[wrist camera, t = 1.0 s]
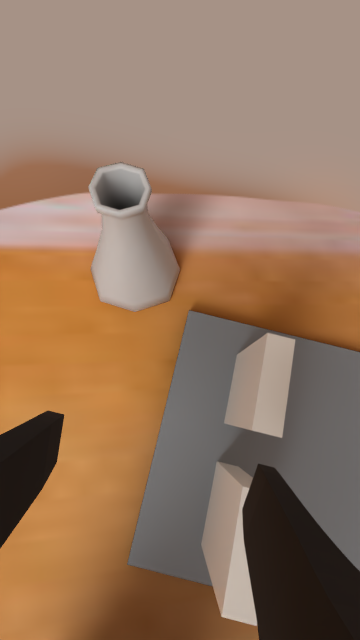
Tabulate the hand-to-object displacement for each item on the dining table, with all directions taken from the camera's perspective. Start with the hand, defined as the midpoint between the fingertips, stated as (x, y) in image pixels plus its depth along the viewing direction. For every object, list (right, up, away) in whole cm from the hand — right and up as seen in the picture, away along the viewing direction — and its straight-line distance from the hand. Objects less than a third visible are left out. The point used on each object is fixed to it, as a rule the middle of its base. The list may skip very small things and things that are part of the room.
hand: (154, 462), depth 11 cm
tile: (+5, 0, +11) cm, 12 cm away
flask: (-3, +9, +14) cm, 17 cm away
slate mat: (+7, -4, +11) cm, 14 cm away
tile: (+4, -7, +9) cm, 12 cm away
